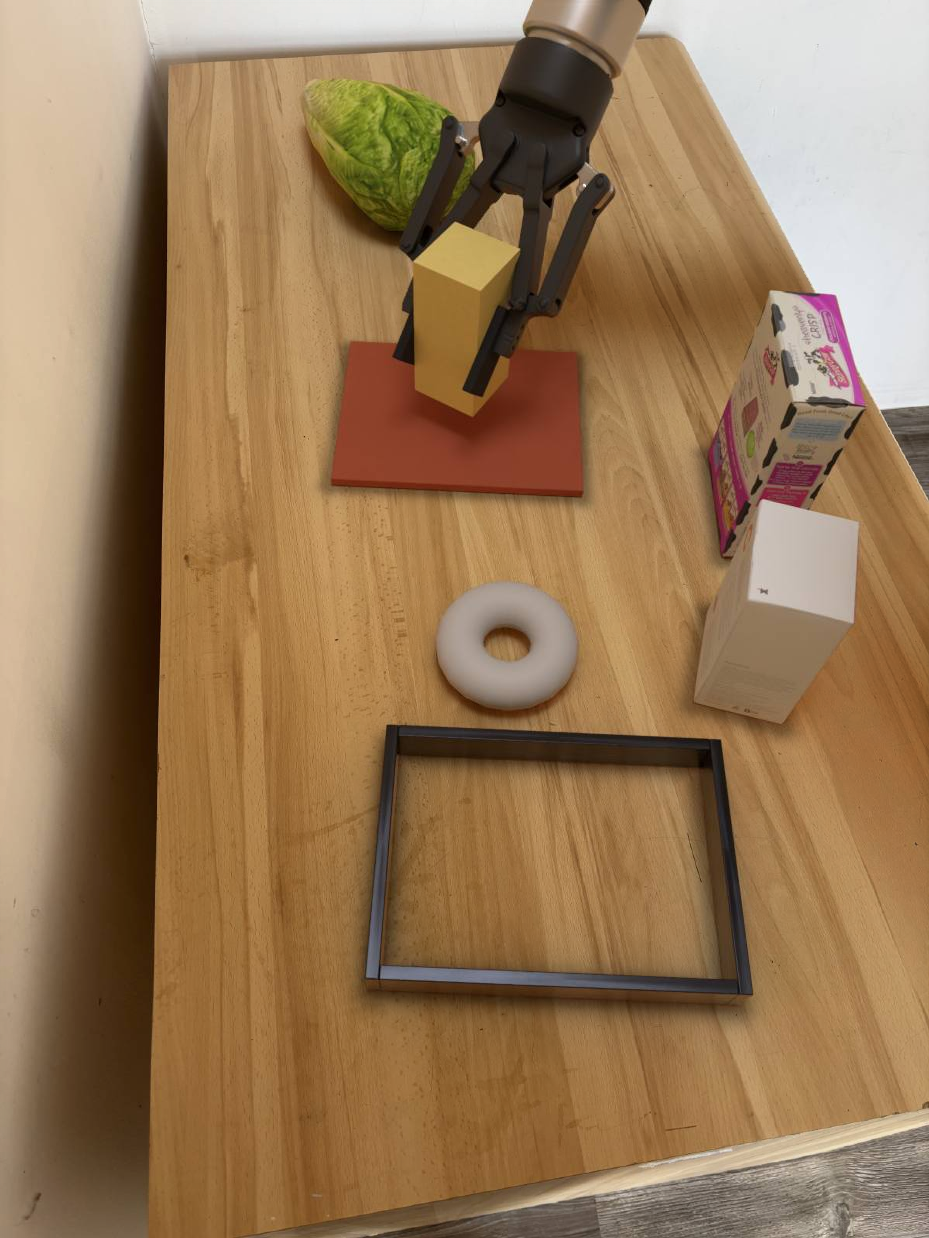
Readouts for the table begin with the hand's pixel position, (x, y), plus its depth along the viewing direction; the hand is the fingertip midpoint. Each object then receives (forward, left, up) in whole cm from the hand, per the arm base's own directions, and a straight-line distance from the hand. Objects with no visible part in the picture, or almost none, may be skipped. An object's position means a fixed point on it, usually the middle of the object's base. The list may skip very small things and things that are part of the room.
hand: (437, 376), depth 71 cm
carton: (-2, -3, -4) cm, 5 cm away
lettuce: (+8, -36, -8) cm, 38 cm away
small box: (-23, +20, -8) cm, 31 cm away
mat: (-2, -3, -7) cm, 8 cm away
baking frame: (-9, +35, -7) cm, 37 cm away
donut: (-6, +20, -8) cm, 22 cm away
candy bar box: (-25, +5, -8) cm, 26 cm away
